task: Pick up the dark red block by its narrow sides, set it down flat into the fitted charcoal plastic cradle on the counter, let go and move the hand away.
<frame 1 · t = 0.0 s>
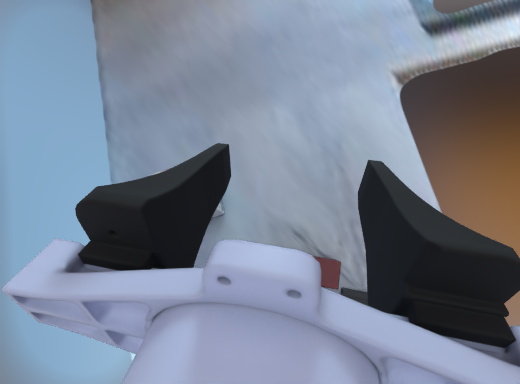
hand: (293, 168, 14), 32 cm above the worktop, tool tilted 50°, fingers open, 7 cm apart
dark red block: (304, 267, 43), on the worktop
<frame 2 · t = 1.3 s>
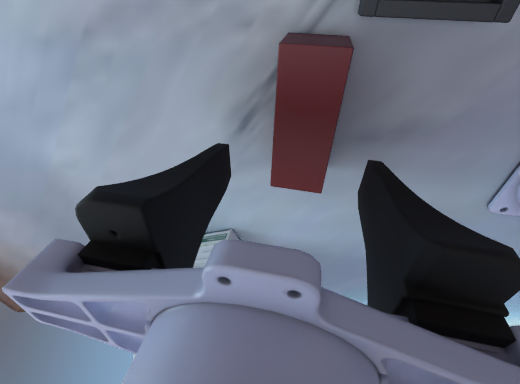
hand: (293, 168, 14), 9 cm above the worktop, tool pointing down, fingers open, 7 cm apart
dark red block: (307, 108, 20), on the worktop
syrup box: (225, 245, 33), on the worktop
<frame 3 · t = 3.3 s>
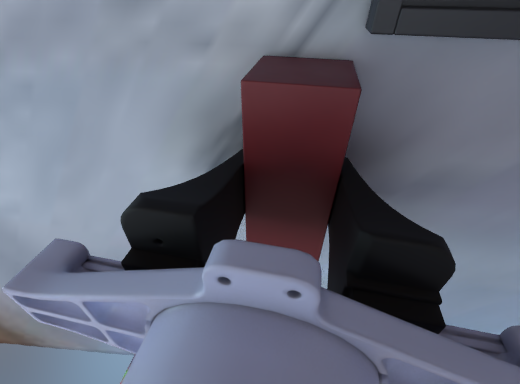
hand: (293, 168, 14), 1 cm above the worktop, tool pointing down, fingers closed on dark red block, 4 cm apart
dark red block: (295, 154, 15), on the worktop, touching gripper
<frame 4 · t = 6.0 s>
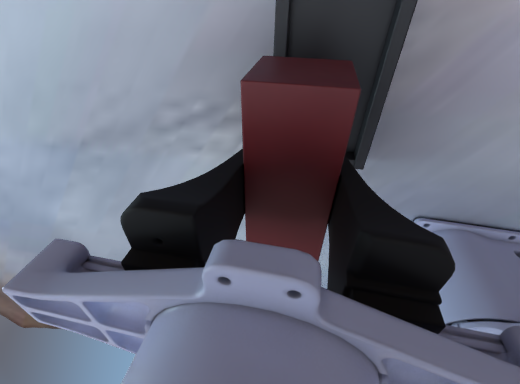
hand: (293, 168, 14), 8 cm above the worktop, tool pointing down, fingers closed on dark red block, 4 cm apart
dark red block: (295, 154, 15), point 7 cm above the worktop, touching gripper
cradle: (330, 69, 18), on the worktop
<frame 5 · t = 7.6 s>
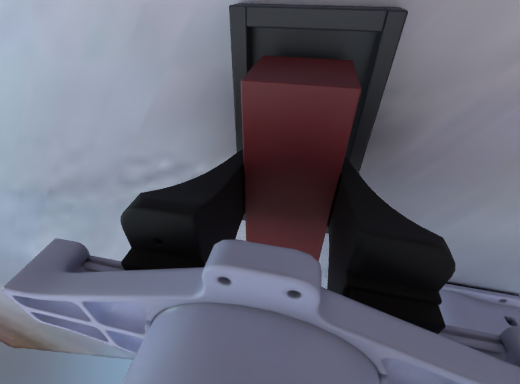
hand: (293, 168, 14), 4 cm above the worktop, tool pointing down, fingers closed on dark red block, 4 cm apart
dark red block: (295, 154, 15), point 2 cm above the worktop, touching gripper
cradle: (300, 136, 17), on the worktop
when the fingers open (2 cm above the worktop, at t = 8.7 s): dark red block stays where it is, resting on cradle.
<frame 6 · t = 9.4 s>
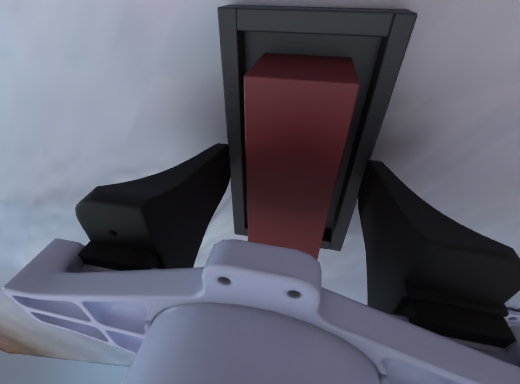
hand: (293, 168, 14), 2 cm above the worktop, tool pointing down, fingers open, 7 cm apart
dark red block: (296, 150, 15), resting on cradle
cradle: (297, 147, 15), on the worktop
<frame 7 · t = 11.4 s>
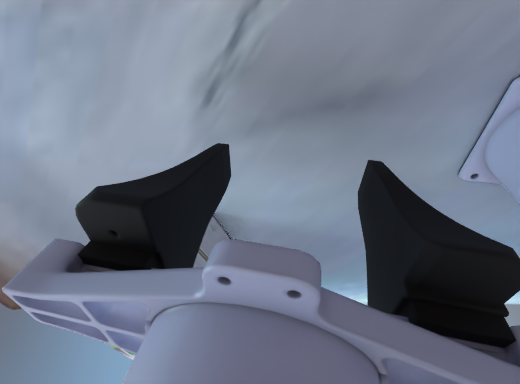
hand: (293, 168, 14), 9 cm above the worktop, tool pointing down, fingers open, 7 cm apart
syrup box: (205, 229, 33), on the worktop
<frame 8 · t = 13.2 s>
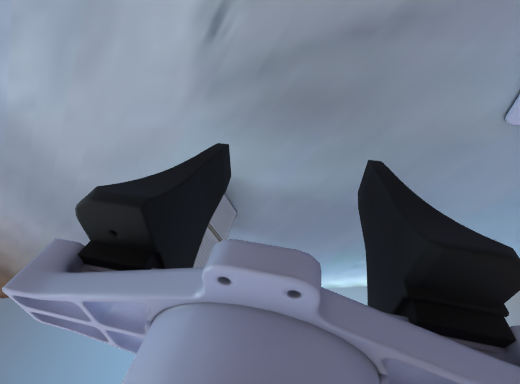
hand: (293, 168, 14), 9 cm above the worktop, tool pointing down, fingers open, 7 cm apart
syrup box: (206, 199, 30), on the worktop
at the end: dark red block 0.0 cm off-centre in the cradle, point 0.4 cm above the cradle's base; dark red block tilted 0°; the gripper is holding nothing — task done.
